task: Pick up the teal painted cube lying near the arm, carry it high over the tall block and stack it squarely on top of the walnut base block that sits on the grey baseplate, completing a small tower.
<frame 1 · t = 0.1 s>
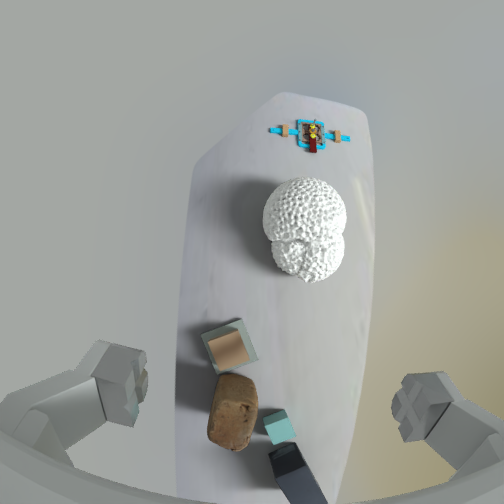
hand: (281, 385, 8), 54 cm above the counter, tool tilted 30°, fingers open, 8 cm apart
teal cube: (277, 422, 58), on the counter
gear mechanism: (310, 138, 70), on the counter
walnut base block: (229, 347, 59), point 1 cm above the counter, touching baseplate
baseplate: (229, 346, 61), on the counter
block: (232, 395, 59), on the counter
small box: (292, 466, 57), on the counter
white coral: (302, 235, 65), on the counter
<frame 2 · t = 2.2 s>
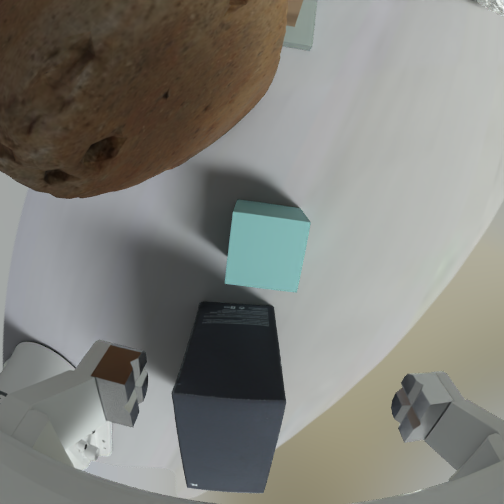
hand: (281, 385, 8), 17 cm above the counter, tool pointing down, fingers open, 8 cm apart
teal cube: (264, 233, 25), on the counter
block: (199, 102, 22), on the counter
small box: (235, 358, 29), on the counter
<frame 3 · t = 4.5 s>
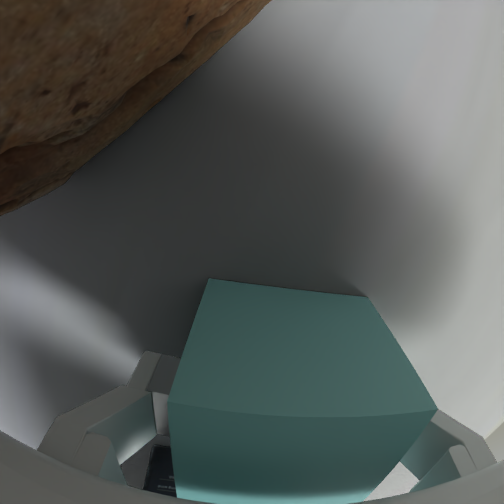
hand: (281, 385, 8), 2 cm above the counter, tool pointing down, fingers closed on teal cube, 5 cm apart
teal cube: (277, 354, 10), on the counter, touching gripper
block: (115, 31, 7), on the counter
small box: (222, 497, 14), on the counter
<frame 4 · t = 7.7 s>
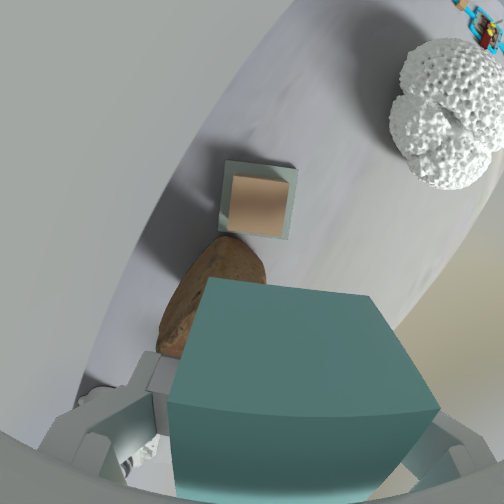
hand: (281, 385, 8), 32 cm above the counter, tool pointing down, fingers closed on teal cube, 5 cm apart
teal cube: (278, 353, 10), point 31 cm above the counter, touching gripper
gear mechanism: (482, 33, 29), on the counter
walnut base block: (257, 200, 38), point 1 cm above the counter, touching baseplate
baseplate: (257, 199, 39), on the counter
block: (222, 268, 42), on the counter
white coral: (430, 118, 35), on the counter
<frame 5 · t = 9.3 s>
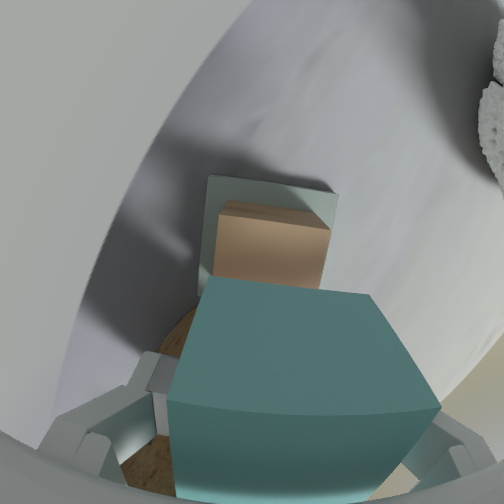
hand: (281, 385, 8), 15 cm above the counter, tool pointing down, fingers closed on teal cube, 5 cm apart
teal cube: (278, 352, 10), point 14 cm above the counter, touching gripper
walnut base block: (265, 247, 22), point 1 cm above the counter, touching baseplate
baseplate: (264, 242, 23), on the counter
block: (208, 346, 26), on the counter
when the fingers open (9 cm above the counter, at t = 11.0 s): teal cube drops 1 cm, resting on walnut base block.
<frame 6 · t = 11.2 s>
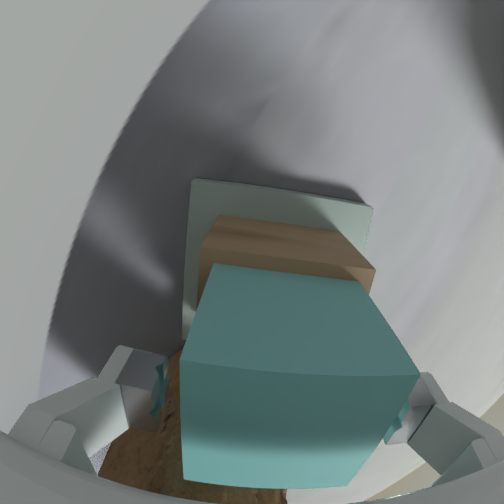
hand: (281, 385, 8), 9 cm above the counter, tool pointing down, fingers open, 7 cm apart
teal cube: (276, 335, 11), point 6 cm above the counter, touching walnut base block
walnut base block: (271, 280, 16), point 1 cm above the counter, touching baseplate, teal cube
baseplate: (270, 271, 17), on the counter
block: (199, 391, 20), on the counter
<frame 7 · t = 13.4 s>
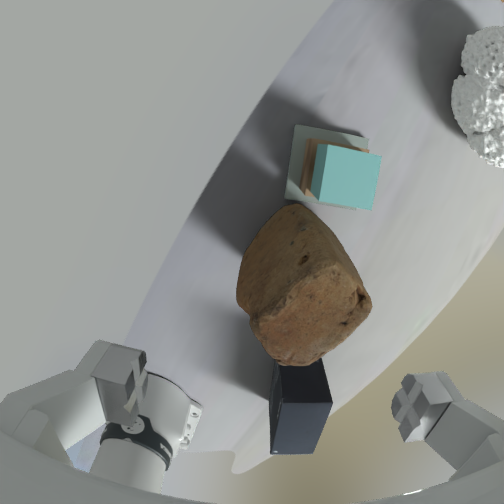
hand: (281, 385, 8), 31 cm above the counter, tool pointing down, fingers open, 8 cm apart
teal cube: (337, 172, 30), point 6 cm above the counter, touching walnut base block
walnut base block: (327, 167, 34), point 1 cm above the counter, touching baseplate, teal cube
baseplate: (325, 166, 35), on the counter
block: (285, 240, 39), on the counter
small box: (293, 375, 47), on the counter
white coral: (482, 100, 30), on the counter
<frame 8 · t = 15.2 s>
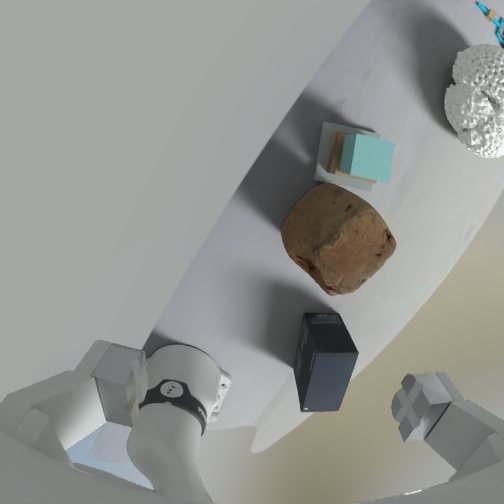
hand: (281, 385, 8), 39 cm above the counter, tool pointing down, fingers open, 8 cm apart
teal cube: (359, 157, 37), point 6 cm above the counter, touching walnut base block
walnut base block: (348, 156, 42), point 1 cm above the counter, touching baseplate, teal cube
baseplate: (346, 156, 43), on the counter
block: (313, 215, 47), on the counter
small box: (316, 342, 54), on the counter
white coral: (469, 104, 39), on the counter
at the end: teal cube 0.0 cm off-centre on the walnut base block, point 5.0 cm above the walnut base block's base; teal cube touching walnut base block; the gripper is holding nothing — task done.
